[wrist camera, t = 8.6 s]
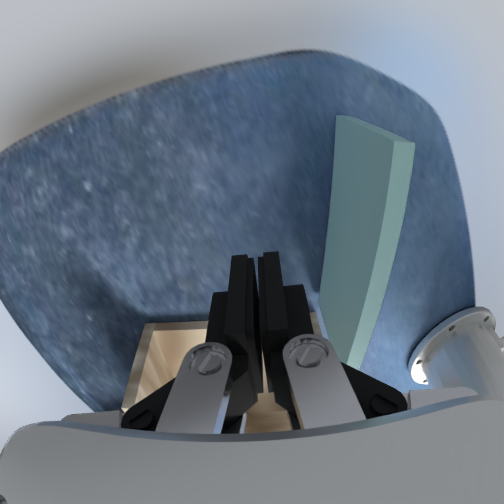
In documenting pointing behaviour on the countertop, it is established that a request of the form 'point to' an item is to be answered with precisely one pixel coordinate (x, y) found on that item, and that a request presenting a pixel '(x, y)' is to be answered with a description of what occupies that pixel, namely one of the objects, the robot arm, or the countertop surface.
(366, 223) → the door
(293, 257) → the countertop surface
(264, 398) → the crate
